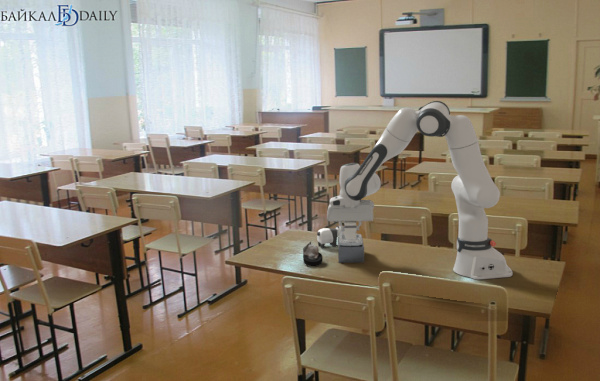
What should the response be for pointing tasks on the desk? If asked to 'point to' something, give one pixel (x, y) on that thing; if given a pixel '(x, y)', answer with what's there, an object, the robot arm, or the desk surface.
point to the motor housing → (350, 249)
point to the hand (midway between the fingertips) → (350, 230)
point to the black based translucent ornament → (312, 255)
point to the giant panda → (328, 236)
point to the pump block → (350, 229)
